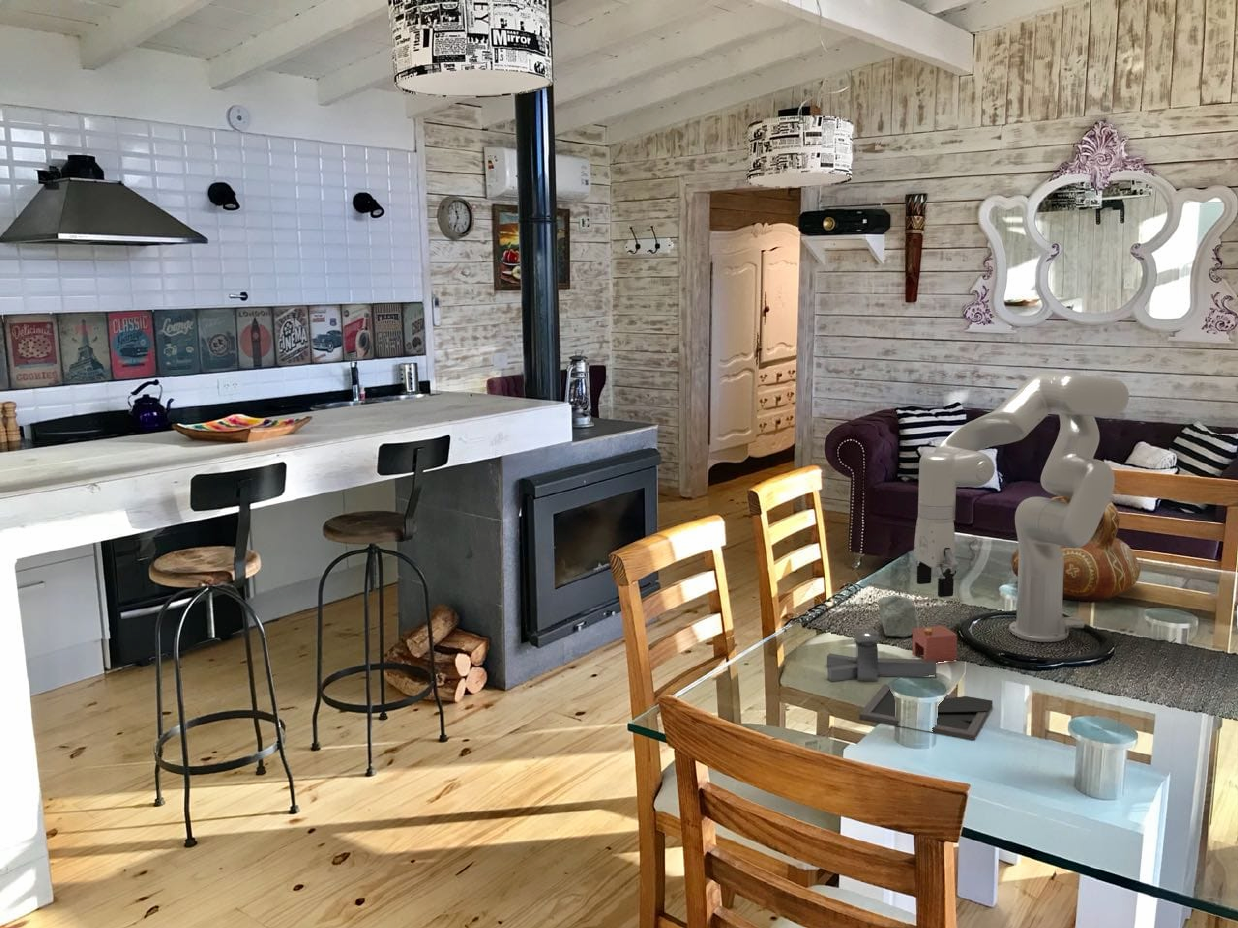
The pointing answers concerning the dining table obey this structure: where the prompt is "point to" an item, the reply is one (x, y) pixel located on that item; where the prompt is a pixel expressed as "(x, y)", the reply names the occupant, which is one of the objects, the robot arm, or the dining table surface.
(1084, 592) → the jug
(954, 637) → the block
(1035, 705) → the dining table surface
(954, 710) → the picture frame
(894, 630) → the decorative stone
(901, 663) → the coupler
